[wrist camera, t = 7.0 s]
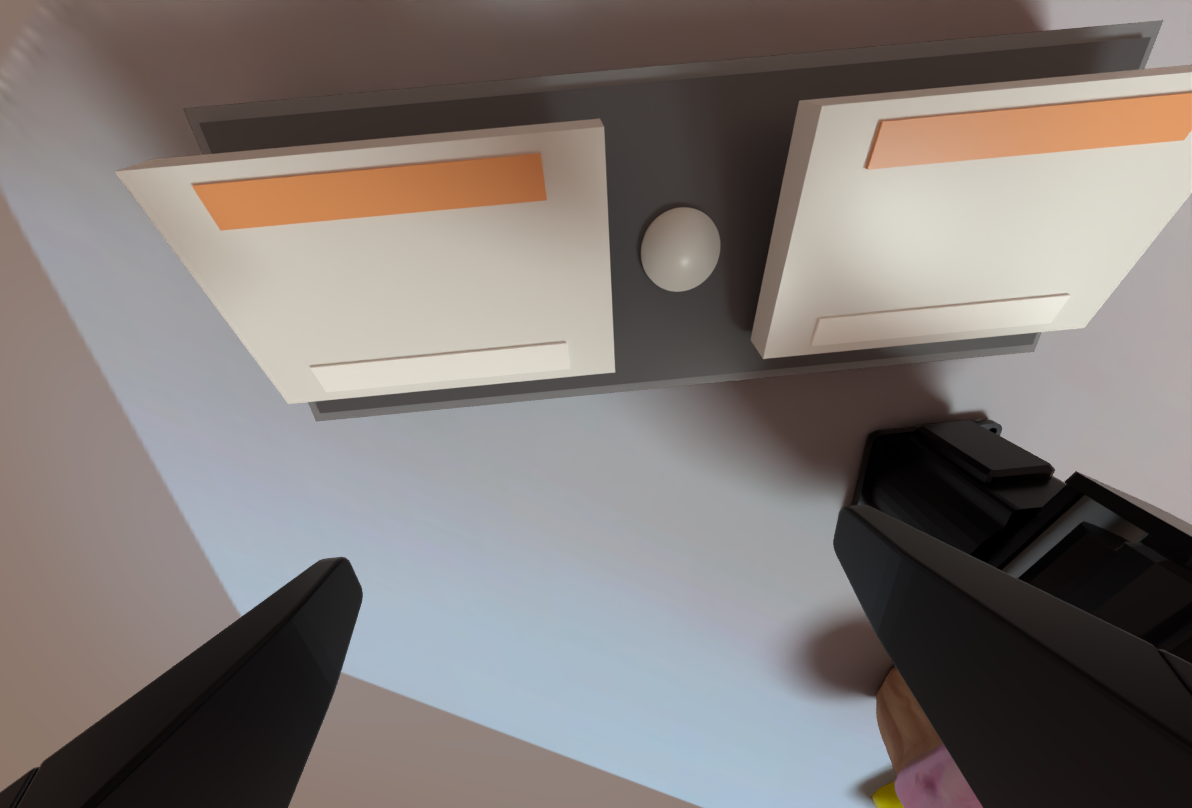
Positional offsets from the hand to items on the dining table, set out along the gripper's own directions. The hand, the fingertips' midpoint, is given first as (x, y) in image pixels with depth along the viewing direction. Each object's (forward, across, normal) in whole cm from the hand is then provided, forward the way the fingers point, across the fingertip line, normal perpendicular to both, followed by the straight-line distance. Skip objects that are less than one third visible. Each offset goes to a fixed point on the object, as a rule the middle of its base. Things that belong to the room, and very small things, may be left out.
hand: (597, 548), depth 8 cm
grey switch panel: (+12, -4, -4) cm, 13 cm away
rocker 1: (+7, +4, -4) cm, 9 cm away
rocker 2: (+7, -12, -4) cm, 14 cm away
